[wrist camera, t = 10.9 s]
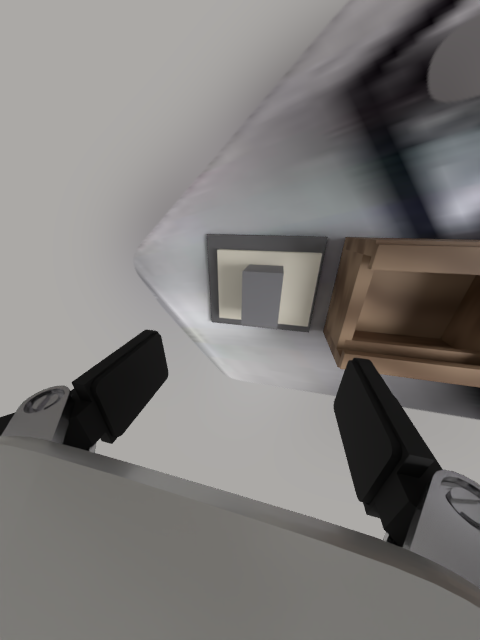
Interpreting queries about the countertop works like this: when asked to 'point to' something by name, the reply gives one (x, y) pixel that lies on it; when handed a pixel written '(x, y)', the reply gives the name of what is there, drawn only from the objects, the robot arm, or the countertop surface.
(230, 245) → the charcoal mat
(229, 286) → the cover plate
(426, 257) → the walnut box
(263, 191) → the countertop surface
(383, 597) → the robot arm
